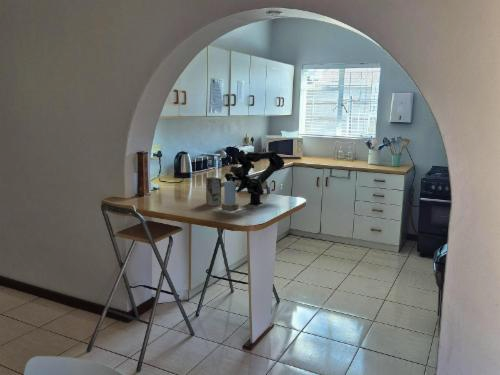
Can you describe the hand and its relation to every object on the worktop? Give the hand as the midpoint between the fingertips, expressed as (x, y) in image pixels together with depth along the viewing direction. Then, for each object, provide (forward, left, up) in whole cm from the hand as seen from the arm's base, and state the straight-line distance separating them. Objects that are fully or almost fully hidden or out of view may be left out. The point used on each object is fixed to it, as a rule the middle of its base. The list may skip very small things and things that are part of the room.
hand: (231, 190), depth 259 cm
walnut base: (+1, 0, -11) cm, 11 cm away
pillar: (+1, 0, -8) cm, 8 cm away
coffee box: (-5, -17, -11) cm, 21 cm away
